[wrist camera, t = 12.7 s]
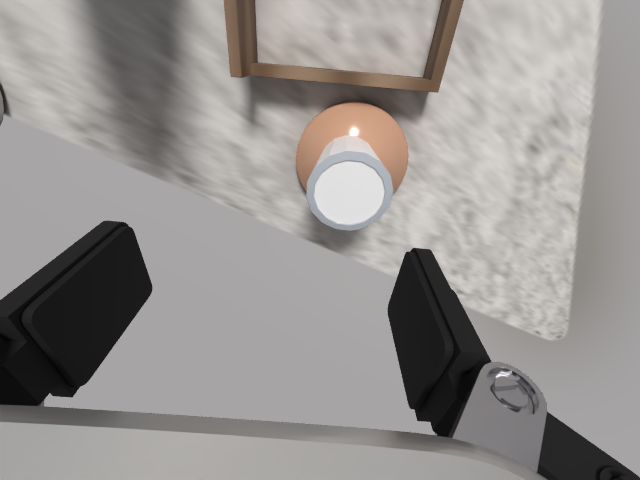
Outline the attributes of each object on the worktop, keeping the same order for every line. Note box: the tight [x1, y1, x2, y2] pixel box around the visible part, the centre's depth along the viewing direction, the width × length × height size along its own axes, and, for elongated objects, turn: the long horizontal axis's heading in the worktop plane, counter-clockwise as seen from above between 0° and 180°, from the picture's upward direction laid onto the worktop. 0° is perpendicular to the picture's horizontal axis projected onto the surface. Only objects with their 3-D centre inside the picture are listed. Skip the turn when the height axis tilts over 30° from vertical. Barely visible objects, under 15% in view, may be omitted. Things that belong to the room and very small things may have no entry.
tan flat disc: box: [296, 101, 408, 193], centre depth 28 cm, size 11×11×1 cm
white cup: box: [306, 135, 393, 231], centre depth 25 cm, size 7×7×7 cm
